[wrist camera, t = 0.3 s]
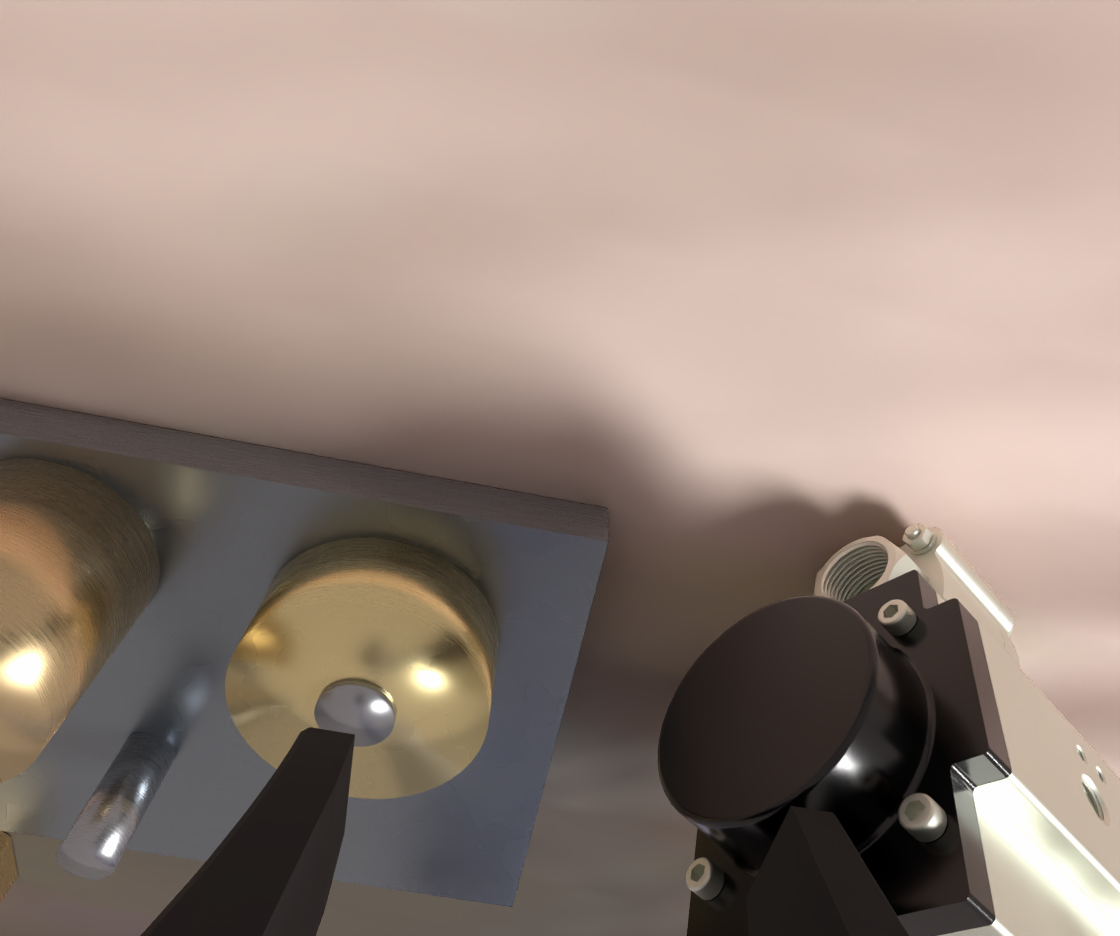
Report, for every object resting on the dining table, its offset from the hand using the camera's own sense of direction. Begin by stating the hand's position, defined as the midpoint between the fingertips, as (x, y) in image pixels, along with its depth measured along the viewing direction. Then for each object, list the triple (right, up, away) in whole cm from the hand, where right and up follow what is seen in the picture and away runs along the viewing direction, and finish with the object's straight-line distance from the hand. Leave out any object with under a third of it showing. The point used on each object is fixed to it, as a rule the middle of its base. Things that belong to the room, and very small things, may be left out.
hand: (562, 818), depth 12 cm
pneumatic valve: (+9, +2, +10) cm, 14 cm away
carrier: (-8, -1, +13) cm, 15 cm away
